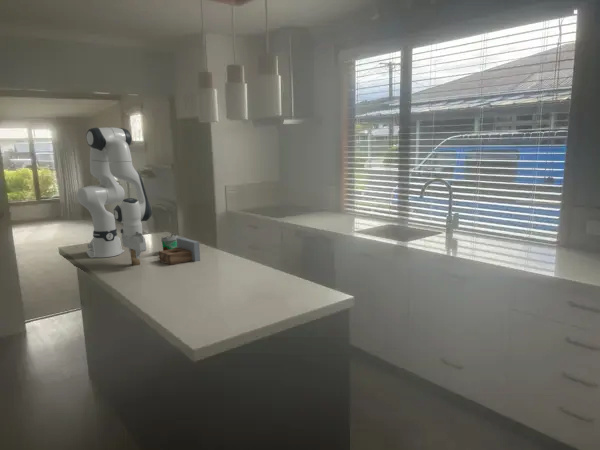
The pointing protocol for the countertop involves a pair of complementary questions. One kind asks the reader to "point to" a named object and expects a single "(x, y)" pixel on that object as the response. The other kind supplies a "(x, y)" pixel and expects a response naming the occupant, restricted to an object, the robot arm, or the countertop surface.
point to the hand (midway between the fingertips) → (135, 257)
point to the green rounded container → (169, 242)
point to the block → (175, 256)
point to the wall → (190, 247)
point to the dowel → (133, 259)
